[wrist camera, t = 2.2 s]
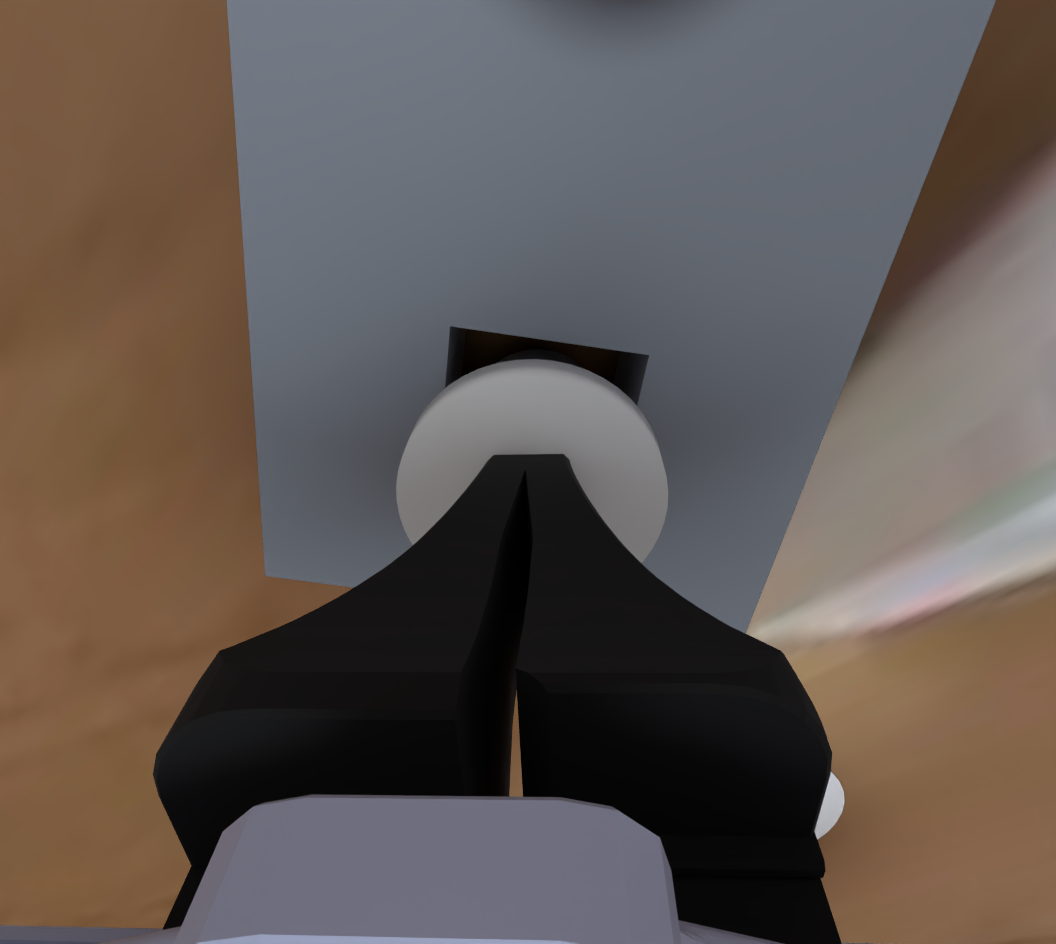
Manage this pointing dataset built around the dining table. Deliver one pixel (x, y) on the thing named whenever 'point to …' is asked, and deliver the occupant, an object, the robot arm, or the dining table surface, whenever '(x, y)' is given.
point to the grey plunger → (537, 443)
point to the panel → (574, 237)
